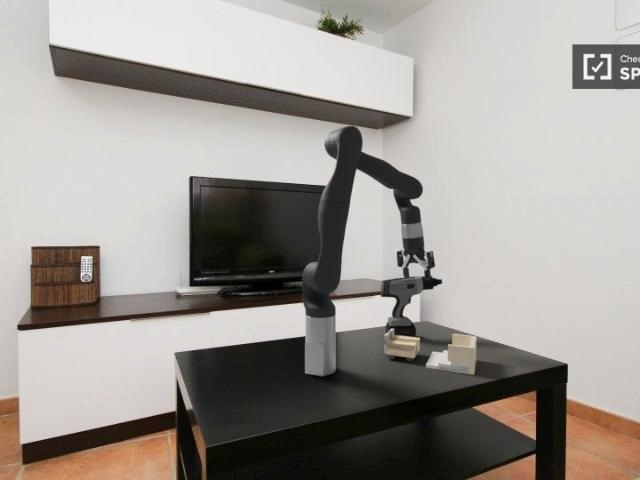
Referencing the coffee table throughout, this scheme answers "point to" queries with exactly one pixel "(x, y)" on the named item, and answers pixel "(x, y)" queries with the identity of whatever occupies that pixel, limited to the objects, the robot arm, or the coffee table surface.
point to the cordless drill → (404, 300)
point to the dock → (456, 356)
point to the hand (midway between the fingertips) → (417, 278)
